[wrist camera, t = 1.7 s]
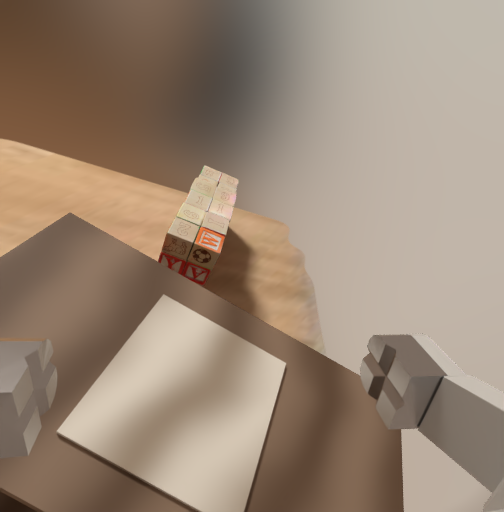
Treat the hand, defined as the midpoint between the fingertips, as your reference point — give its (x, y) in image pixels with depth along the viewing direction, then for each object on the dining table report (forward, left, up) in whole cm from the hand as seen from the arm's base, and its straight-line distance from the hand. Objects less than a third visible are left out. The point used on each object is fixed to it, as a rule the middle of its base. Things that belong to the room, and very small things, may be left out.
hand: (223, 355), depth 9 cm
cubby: (+1, +4, -29) cm, 30 cm away
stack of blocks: (-2, +33, -30) cm, 45 cm away
